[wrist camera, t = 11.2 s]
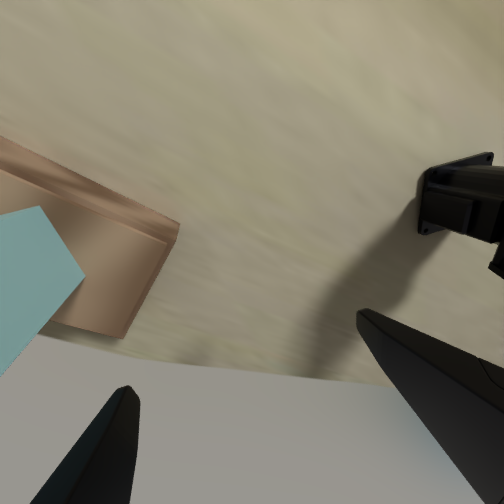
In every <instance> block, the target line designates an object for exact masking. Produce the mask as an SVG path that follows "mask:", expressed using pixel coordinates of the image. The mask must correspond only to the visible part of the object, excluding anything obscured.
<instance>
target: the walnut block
mask: <svg viewBox="0 0 504 504" xmlns="http://www.w3.org/2000/svg"><path fill="white" fill-rule="evenodd" d="M39 205H40V207H41V209H42V210H43V212H44V213H45V215H46V216H47V218H48V219H49V221H50V222H51V224H52V225H53V227H54V228H55V230H56V231H57V233H58V235H59V236H60V238H61V239H62V241H63V242H64V244H65V245H66V247H67V248H68V250H69V251H70V253H71V254H72V256H73V258H74V259H75V261H76V262H77V264H78V265H79V267H80V268H81V270H82V271H83V273H84V274H85V278H84V279H83V280H82V281H81V282H80V284H79V285H78V286H77V287H76V288H75V289H74V291H73V292H72V293H71V294H70V295H69V296H68V298H67V299H66V300H65V301H64V302H63V304H62V305H61V306H60V307H59V308H58V309H57V311H56V312H55V313H54V314H53V315H52V316H51V318H50V319H49V320H50V321H54V322H58V323H62V324H66V325H70V326H73V327H77V328H81V329H85V330H89V331H93V332H97V333H100V334H104V335H108V336H112V337H116V338H120V339H123V338H124V337H125V335H126V333H127V331H128V329H129V327H130V325H131V324H132V322H133V320H134V318H135V316H136V314H137V312H138V311H139V309H140V307H141V305H142V303H143V301H144V299H145V298H146V296H147V294H148V292H149V290H150V288H151V286H152V285H153V283H154V281H155V279H156V277H157V275H158V273H159V272H160V270H161V268H162V266H163V264H164V262H165V260H166V259H167V257H168V255H169V253H170V251H171V249H172V247H173V245H174V244H175V242H176V239H177V234H178V230H179V226H180V223H178V222H176V221H174V220H171V219H169V218H167V217H165V216H163V215H161V214H159V213H157V212H155V211H153V210H151V209H149V208H147V207H145V206H143V205H141V204H139V203H137V202H135V201H133V200H131V199H128V198H126V197H124V196H122V195H120V194H118V193H116V192H114V191H112V190H110V189H108V188H106V187H104V186H102V185H100V184H98V183H96V182H94V181H92V180H90V179H88V178H85V177H83V176H81V175H79V174H77V173H75V172H73V171H71V170H69V169H67V168H65V167H63V166H61V165H59V164H57V163H55V162H53V161H51V160H49V159H47V158H44V157H42V156H40V155H38V154H36V153H34V152H32V151H30V150H28V149H26V148H24V147H22V146H20V145H18V144H16V143H14V142H12V141H10V140H8V139H6V138H4V137H1V136H0V215H3V214H7V213H11V212H15V211H19V210H23V209H27V208H31V207H35V206H39Z"/></svg>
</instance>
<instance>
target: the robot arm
mask: <svg viewBox="0 0 504 504" xmlns="http://www.w3.org/2000/svg"><path fill="white" fill-rule="evenodd" d="M493 158H494V154H493V153H492V152H484V153H481V154H477V155H473V156H470V157H466V158H463V159H459V160H455V161H452V162H448V163H445V164H441V165H437V166H434V167H431V168H429V169H428V170H427V171H426V173H425V180H424V187H423V195H422V203H421V211H420V218H419V226H418V233H419V234H421V235H428V234H431V233H434V232H437V231H441V230H444V229H448V230H451V231H453V232H456V233H459V234H462V235H467V236H470V237H473V238H476V239H479V240H482V241H484V242H487V243H490V244H492V243H494V244H497V245H498V247H497V250H496V252H495V255H494V257H493V260H492V261H491V262H490V264H489V266H488V269H490V270H491V271H493V272H494V273H495V274H497V275H498V276H500V277H501V278H502V279H504V167H503V166H492V162H493ZM432 172H433V173H432ZM356 326H357V329H358V332H359V333H360V335H361V336H362V338H363V340H364V341H365V343H366V344H367V346H368V348H369V349H370V351H371V353H372V354H373V356H374V357H375V359H376V361H377V362H378V364H379V365H380V367H381V368H382V370H383V371H384V372H385V374H386V375H387V376H388V378H389V379H390V380H391V381H392V383H393V384H394V385H395V387H396V388H397V389H398V391H399V392H400V393H401V395H402V396H403V397H404V399H405V400H406V401H407V402H408V404H409V405H410V406H411V408H412V409H413V410H414V412H415V413H416V414H417V416H418V417H419V418H420V419H421V421H422V422H423V423H424V425H425V426H426V427H427V429H428V430H429V431H430V433H431V434H432V435H433V437H434V438H435V439H436V440H437V442H438V443H439V444H440V446H441V447H442V448H443V450H444V451H445V452H446V454H447V455H448V456H449V457H450V459H451V460H452V461H453V463H454V464H455V465H456V467H457V468H458V469H459V471H460V472H461V473H462V474H463V476H464V477H465V478H466V480H467V481H468V482H469V484H470V485H471V486H472V488H473V489H474V490H475V491H476V493H477V494H478V495H479V497H480V498H481V499H482V501H483V502H484V503H485V504H504V368H502V367H499V366H497V365H495V364H492V363H490V362H488V361H486V360H483V359H481V358H477V357H476V356H474V355H472V354H470V353H467V352H465V351H463V350H461V349H458V348H456V347H454V346H452V345H449V344H447V343H445V342H443V341H440V340H438V339H436V338H434V337H431V336H429V335H427V334H425V333H422V332H420V331H418V330H416V329H413V328H411V327H409V326H407V325H404V324H402V323H400V322H398V321H395V320H393V319H391V318H389V317H386V316H384V315H382V314H380V313H377V312H375V311H373V310H371V309H368V308H364V309H361V310H358V311H357V312H356ZM139 418H140V399H139V397H138V395H137V394H136V393H135V391H134V390H133V389H132V387H130V386H129V385H127V386H124V387H121V388H118V389H117V390H116V391H115V392H114V393H113V394H112V396H111V397H110V398H109V400H108V401H107V402H106V404H105V405H104V406H103V408H102V409H101V410H100V412H99V413H98V414H97V416H96V417H95V418H94V419H93V421H92V422H91V424H90V425H89V426H88V427H87V429H86V430H85V431H84V433H83V434H82V435H81V437H80V438H79V439H78V441H77V442H76V443H75V445H74V446H73V447H72V449H71V450H70V451H69V452H68V454H67V455H66V456H65V458H64V459H63V460H62V462H61V463H60V464H59V466H58V467H57V468H56V470H55V471H54V472H53V473H52V475H51V476H50V477H49V479H48V480H47V482H46V483H45V484H44V485H43V487H42V488H41V489H40V491H39V492H38V493H37V495H36V496H35V497H34V499H33V500H32V501H31V502H30V504H129V503H130V496H131V490H132V484H133V477H134V471H135V465H136V458H137V450H138V435H139V434H138V433H139Z"/></svg>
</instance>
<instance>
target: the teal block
mask: <svg viewBox="0 0 504 504" xmlns="http://www.w3.org/2000/svg"><path fill="white" fill-rule="evenodd" d="M84 278H85V274H84V273H83V271H82V270H81V268H80V267H79V265H78V264H77V262H76V261H75V259H74V258H73V256H72V254H71V253H70V251H69V250H68V248H67V247H66V245H65V244H64V242H63V241H62V239H61V238H60V236H59V235H58V233H57V231H56V230H55V228H54V227H53V225H52V224H51V222H50V221H49V219H48V218H47V216H46V215H45V213H44V212H43V210H42V209H41V207H40V205H39V206H35V207H31V208H27V209H23V210H19V211H15V212H11V213H7V214H3V215H0V376H1V375H2V374H3V373H4V371H6V369H7V368H8V367H9V366H10V364H12V362H13V361H14V360H15V359H16V358H17V356H18V355H19V354H20V353H21V351H23V349H24V348H25V347H26V346H27V345H28V343H29V342H30V341H31V340H32V339H33V338H34V337H35V335H36V334H37V333H38V332H39V331H40V329H41V328H42V327H43V326H44V325H45V324H46V322H47V321H48V320H49V319H50V318H51V316H52V315H53V314H54V313H55V312H56V311H57V309H58V308H59V307H60V306H61V305H62V304H63V302H64V301H65V300H66V299H67V298H68V296H69V295H70V294H71V293H72V292H73V291H74V289H75V288H76V287H77V286H78V285H79V284H80V282H81V281H82V280H83V279H84Z"/></svg>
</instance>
